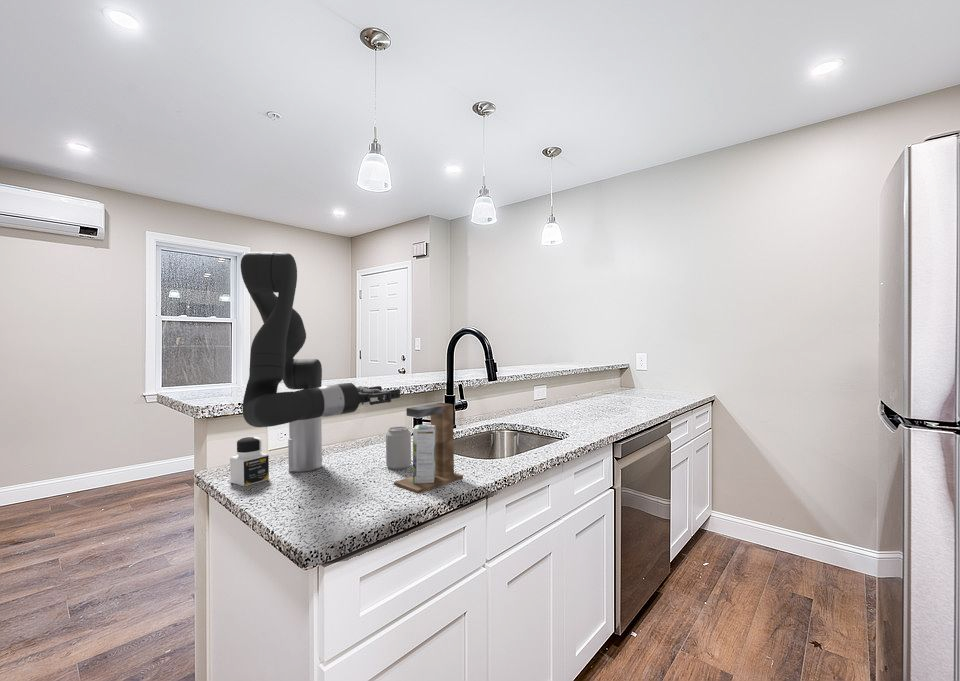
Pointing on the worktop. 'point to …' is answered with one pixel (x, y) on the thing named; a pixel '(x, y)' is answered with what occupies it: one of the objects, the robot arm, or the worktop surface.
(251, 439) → the medicine bottle
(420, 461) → the syrup box
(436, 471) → the keeper bracket
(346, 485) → the worktop surface
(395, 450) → the can
